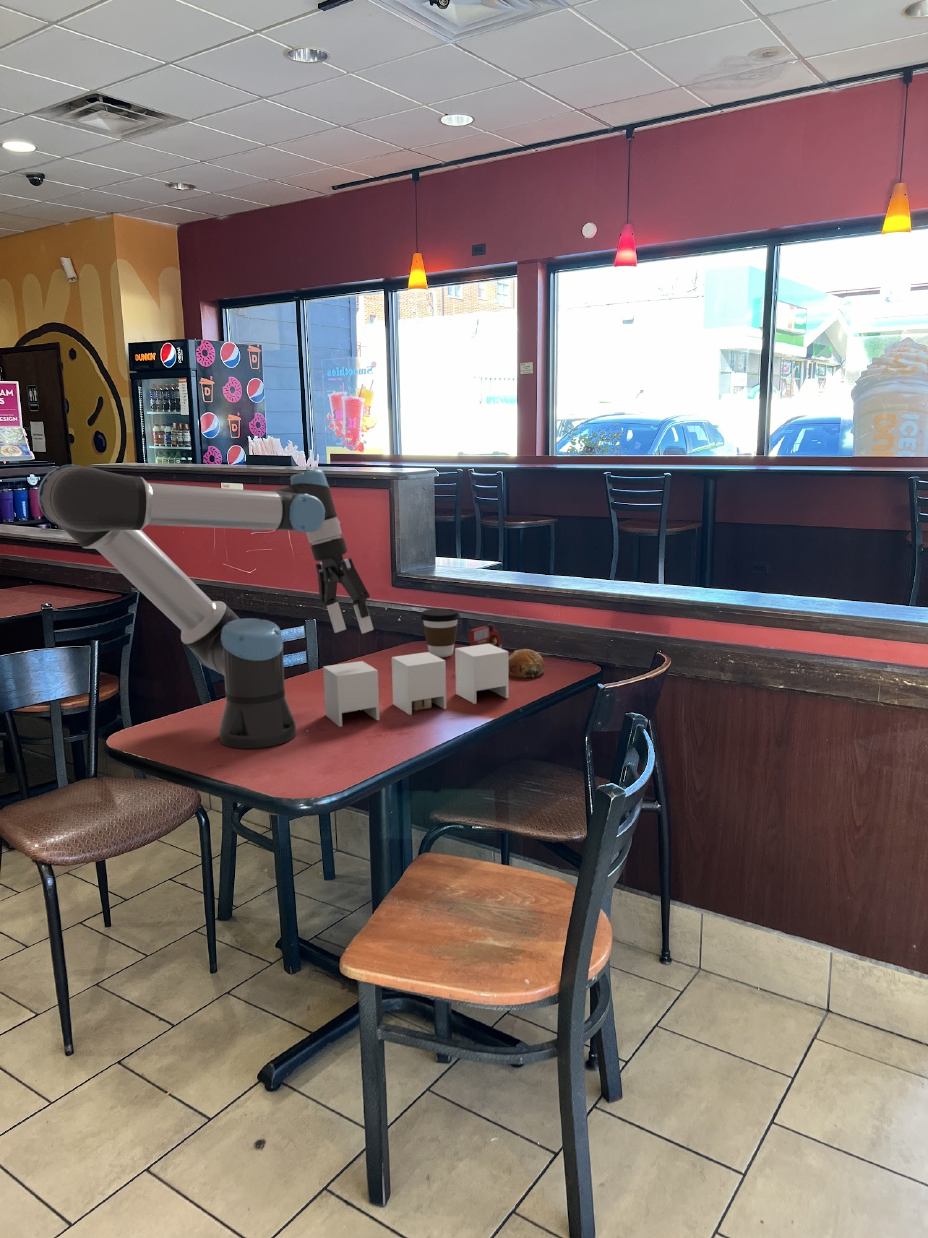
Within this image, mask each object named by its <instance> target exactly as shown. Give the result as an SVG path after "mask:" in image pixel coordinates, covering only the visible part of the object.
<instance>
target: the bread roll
mask: <svg viewBox="0 0 928 1238" xmlns="http://www.w3.org/2000/svg"><path fill="white" fill-rule="evenodd" d="M544 672H545V661H544V658H543V657H542V656H541V655H540V653H538V652H536V651H535V650H532V649H529V648H523V649H519V650H514V651H513V652H512V653H510V655H508V676H509V675H510V676H509V677H512V676H514V677H513V678H517V677H519V678H518V679H527V678H526V677H533V676H536V677H539V676H541V675H542V674H543V673H544ZM533 678H534V677H533Z"/></svg>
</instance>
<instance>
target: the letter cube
mask: <svg viewBox="0 0 928 1238" xmlns="http://www.w3.org/2000/svg"><path fill="white" fill-rule="evenodd" d="M431 708H432V702H431V698H429V699H423V700H417V701H412V710H414V711H418V710H419V709H420V710H424V709H431ZM420 710H419V711H420Z"/></svg>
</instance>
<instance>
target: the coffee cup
mask: <svg viewBox="0 0 928 1238" xmlns="http://www.w3.org/2000/svg"><path fill="white" fill-rule="evenodd" d="M460 618H461V615H460V614H459V611H458V610H456V609H452V608H430V609H425V610H423V611H422V612H421V615H420V620H422V621H423V630H424V631H423V632H424V637H425V641H426V645H427V649H428V652H429V653H431V654H433V655H435V656H437V657H439V658H448V657H451V656H452V655H453V653H454V650H455V648H454V647H455V644H456V639H457V632H458V625H459V624H458V620H459V619H460Z"/></svg>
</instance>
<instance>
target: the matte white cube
mask: <svg viewBox="0 0 928 1238" xmlns="http://www.w3.org/2000/svg"><path fill="white" fill-rule="evenodd" d="M322 669H323V670H322V671H323V689H324V690H323V691H324V706H325V707H324V711H325V713H324V714H325V716H326V717H327V718H328V719H329V720H331V721H332V722H333V723H334V724H335V725H337V726H338V727H339V728H340V727H343V714H346V713H347V714H348V713H351V712H352V713H353V712H358V710H360V711H363V710H364V713H366V714H367V715H369V716H370V717H371V718H373V719H374V720H376V721H380V698H379V697H380V695H379V671H378V670H377V669H376V668H374V667H373V666H371V665H370V664H368V663H366V662H365V661H363V660H361V661H353V662H347V663H346V662H345V663H339V664H332V665H325V666H324V665H323V667H322Z"/></svg>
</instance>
